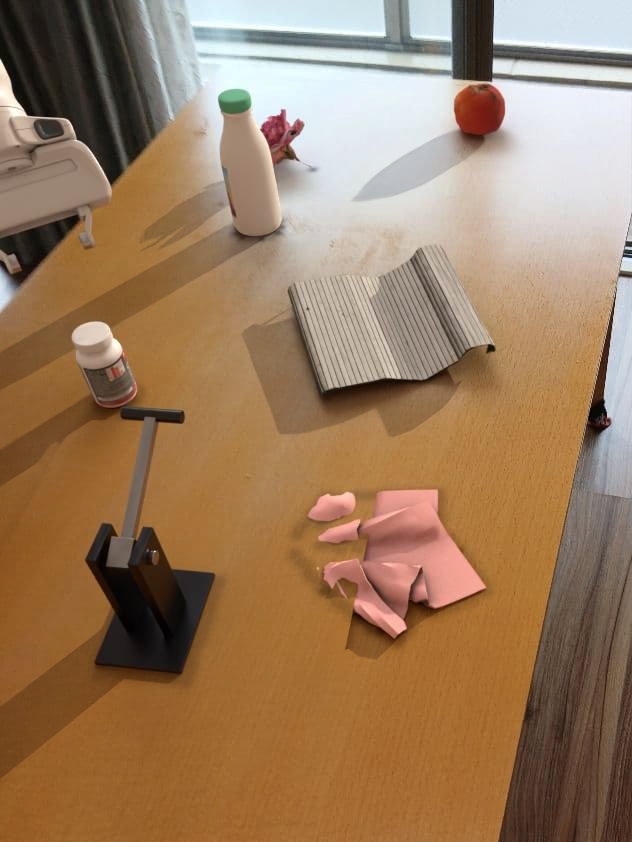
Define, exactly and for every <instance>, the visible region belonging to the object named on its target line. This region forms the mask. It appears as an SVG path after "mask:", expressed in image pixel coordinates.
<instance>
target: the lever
mask: <svg viewBox="0 0 632 842" xmlns="http://www.w3.org/2000/svg"><path fill="white" fill-rule="evenodd" d="M119 414H120V419H121V420H122V421H132V422H133V421H134V422H135V421H136V422H143V423H142V429H141V434H140V438H139V443H138V447H137V448H138V449H137V453H136V459H135V464H134V469H133V474H132V478H131V484H130V489H129V494H128V499H127V502H126V503H127V504H126V509H125V514H124V518H123V519H124V520H123V524H122V529H121V534H120V536H118V537H111V542H110V547H109V552H108V557H107V561H106V566H107V567H109V568H111V569H113V570H115V571H118V572H128V573H131V571H130V569H129V567H128V565H127V563H128V561H129V558H130V556H131V554H132V551H133V549H134V547H135V544H136V542H137V540H138V531H139V528H140V522H141V516H142V512H143V508H144V507H143V506H144V502H145V501H144V500H145V496H146V491H147V485H148V480H149V475H150V470H151V465H152V460H153V454H154V450H155V444H156V438H157V434H158V428H159V425H160V424H173V425H174V424H175V425H183V424H184V423H185V419H186V414H185V411H184V410H182V409H172V408H171V409H168V408H157V407H155V408H154V407H144V406H143V407H141V406H128V405H127V406H126V405H122V406H121V407H120V412H119Z"/></svg>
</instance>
